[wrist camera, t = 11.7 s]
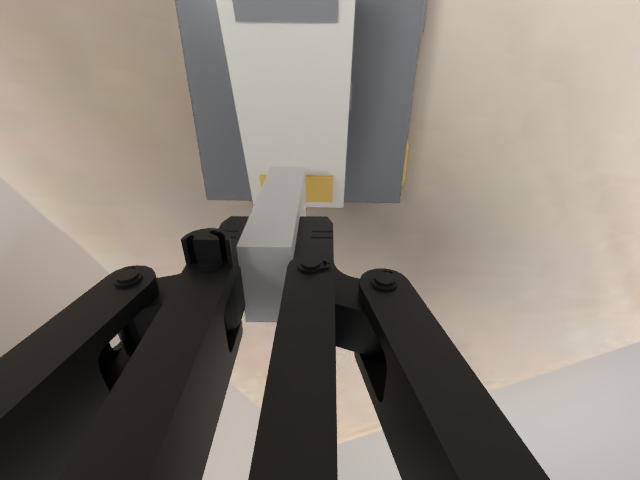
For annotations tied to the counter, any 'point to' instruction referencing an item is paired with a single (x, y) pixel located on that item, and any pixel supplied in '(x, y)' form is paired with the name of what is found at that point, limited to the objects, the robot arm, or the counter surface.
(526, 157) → the counter surface
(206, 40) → the switch unit
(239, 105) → the rocker
